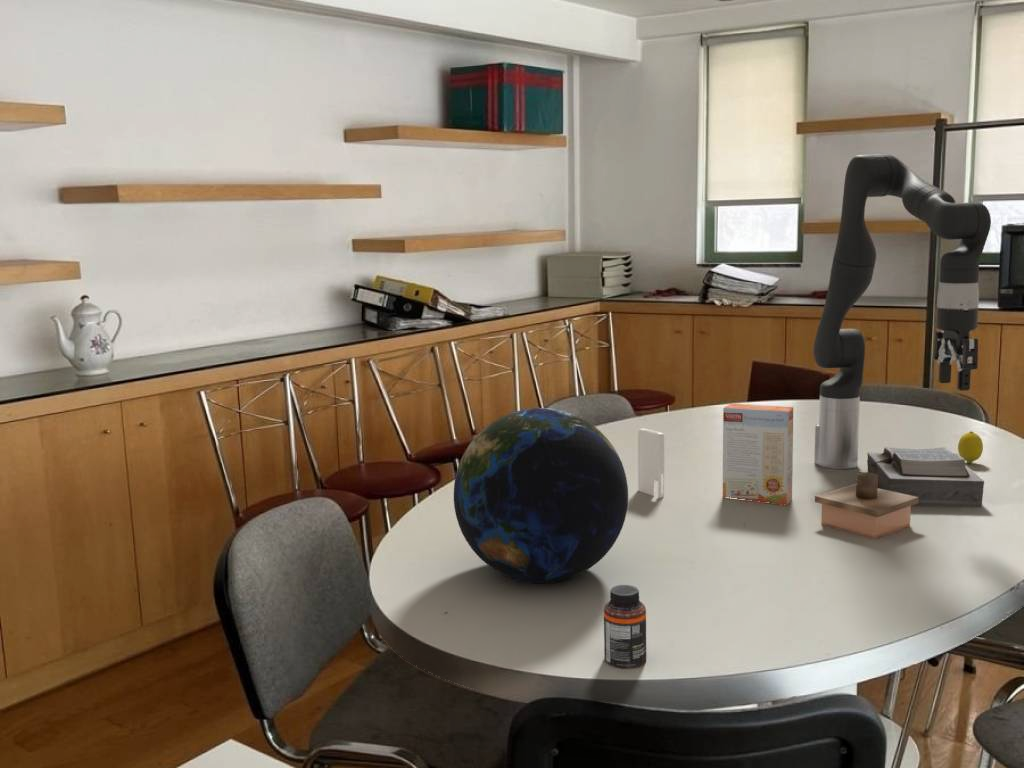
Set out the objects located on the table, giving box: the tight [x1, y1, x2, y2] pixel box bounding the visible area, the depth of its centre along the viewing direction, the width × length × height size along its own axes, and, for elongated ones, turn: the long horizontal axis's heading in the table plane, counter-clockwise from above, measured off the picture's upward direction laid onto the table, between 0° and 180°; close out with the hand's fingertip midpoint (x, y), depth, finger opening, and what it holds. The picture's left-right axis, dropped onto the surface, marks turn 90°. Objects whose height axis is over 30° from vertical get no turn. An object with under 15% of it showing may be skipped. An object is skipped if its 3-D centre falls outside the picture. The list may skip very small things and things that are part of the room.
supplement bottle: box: [603, 584, 647, 670], centre depth 148 cm, size 6×6×11 cm
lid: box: [814, 471, 919, 517], centre depth 207 cm, size 14×14×6 cm
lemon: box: [957, 430, 984, 464], centre depth 255 cm, size 6×6×8 cm
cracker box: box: [722, 403, 794, 506], centre depth 226 cm, size 14×6×21 cm, turn 64°
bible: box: [866, 446, 985, 509], centre depth 231 cm, size 23×27×10 cm
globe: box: [453, 407, 629, 584], centre depth 182 cm, size 30×30×30 cm
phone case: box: [637, 428, 665, 499], centre depth 231 cm, size 7×1×15 cm, turn 33°
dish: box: [821, 504, 912, 540], centre depth 208 cm, size 12×12×5 cm
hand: (953, 386), depth 210 cm, fingers open, 8 cm apart
